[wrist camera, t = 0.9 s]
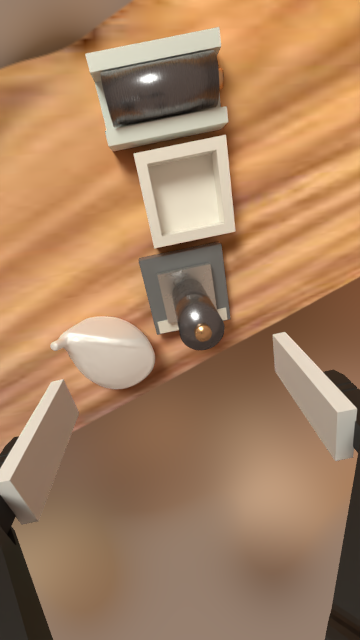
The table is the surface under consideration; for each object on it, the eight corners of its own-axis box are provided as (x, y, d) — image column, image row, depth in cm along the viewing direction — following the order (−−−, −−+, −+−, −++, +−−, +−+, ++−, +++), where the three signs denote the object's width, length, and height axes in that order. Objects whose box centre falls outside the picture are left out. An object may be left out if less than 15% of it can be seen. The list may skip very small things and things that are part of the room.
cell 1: (116, 131, 31) (111, 121, 27) (104, 82, 29) (97, 63, 25) (219, 111, 31) (229, 97, 27) (214, 60, 29) (224, 38, 25)
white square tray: (154, 244, 37) (154, 248, 34) (135, 158, 33) (133, 153, 29) (228, 228, 37) (235, 231, 34) (218, 141, 33) (226, 134, 29)
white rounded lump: (63, 315, 31) (131, 395, 31) (119, 293, 40) (172, 354, 40) (31, 360, 37) (89, 428, 36) (87, 331, 46) (133, 386, 46)
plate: (167, 320, 39) (168, 323, 38) (157, 273, 36) (157, 275, 35) (215, 310, 39) (217, 313, 38) (209, 262, 36) (210, 264, 35)
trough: (112, 151, 32) (108, 146, 29) (92, 69, 29) (85, 53, 26) (220, 129, 32) (228, 121, 29) (212, 45, 29) (219, 26, 26)
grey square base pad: (156, 328, 42) (157, 335, 40) (139, 258, 37) (138, 261, 35) (227, 314, 42) (231, 320, 40) (217, 241, 37) (221, 244, 35)
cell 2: (175, 313, 37) (185, 358, 27) (169, 282, 36) (176, 318, 25) (206, 306, 38) (228, 349, 27) (202, 275, 36) (223, 308, 25)
